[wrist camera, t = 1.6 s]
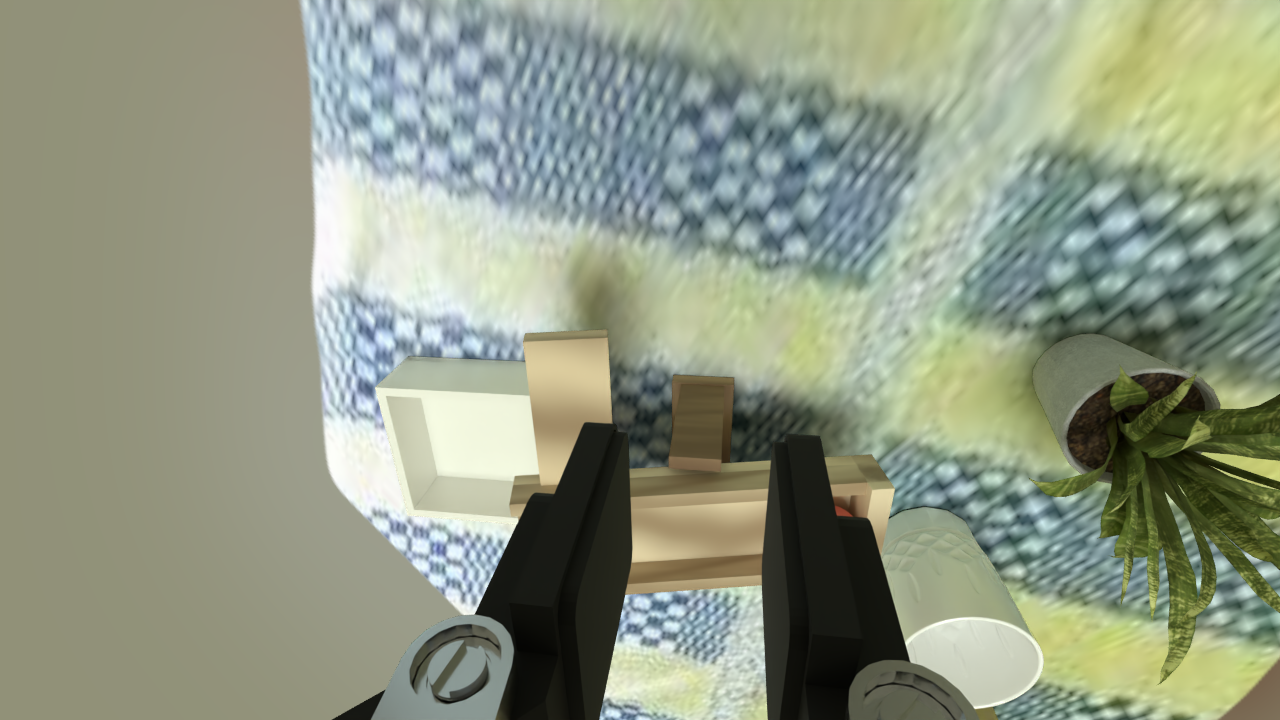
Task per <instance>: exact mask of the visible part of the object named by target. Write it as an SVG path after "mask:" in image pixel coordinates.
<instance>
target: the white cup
mask: <svg viewBox="0 0 1280 720" xmlns="http://www.w3.org/2000/svg"><path fill="white" fill-rule="evenodd" d="M881 559H882V562H883V566H884V570H885V573H886V577H887V580H888V584H889V587H890V591H891V594H892V598H893V602H894V605H895V609H896V612H897V616H898V619H899V623H900V627H901V630H902V634H903V637H904V641H905V644H906V648H907V651H908V655H909V659H910V662H911V663H914V664H918V665H922V666H924V667H926V668H928V669H930V670H932V671H934V672H936V673H937V674H939V675H941V676H943V677H944V678H945V679H947V680H948V681H949V682H950V683H951V684H953V685H954V686H955V687H956V688H958V689H959V690H960V691H961V692H962V694H963V695H964V696H965V697H966V698H967V700H968V701H969V702H970V703H971V705H972V706H973V707H974V709H980V708H987V707H992V706H996V705H1000V704H1003V703H1006V702H1008V701H1011V700H1013V699H1015V698H1017V697H1019V696H1020V695H1022V694H1024V693H1025V692H1026V691H1028V690H1029V689H1030V688H1031V687H1032V686H1033V685H1034V684H1035V683H1036V681H1037V680H1038V679H1039V677H1040V675H1041V673H1042V670H1043V665H1044V658H1043V653H1042V650H1041V648H1040V646H1039V644H1038V643H1037V641H1036V639H1035V637H1034V636H1033V634H1032V632H1031V630H1030V629H1029V627H1028V625H1027V623H1026V621H1025V620H1024V618H1023V616H1022V615H1021V613H1020V611H1019V609H1018V608H1017V606H1016V604H1015V602H1014V601H1013V599H1012V597H1011V595H1010V593H1009V591H1008V589H1007V588H1006V586H1005V584H1004V583H1003V581H1002V580H1001V579H1000V577H999V575H998V573H997V571H996V569H995V568H994V566H993V565H992V563H991V562H990V560H989V558H988V556H987V555H986V554H985V553H984V552H983V551H982V549H981V548H980V546H979V545H978V543H977V542H976V540H975V538H974V536H973V534H972V533H971V531H970V529H969V527H968V525H967V524H966V522H965V521H964V520H962V519H961V518H959V517H957V516H956V515H954V514H952V513H951V512H949V511H947V510H942V509H935V508H929V507H921V508H916V509H910V510H905V511H902V512H900V513H898V514H896V515H895V516H893V517H891V518H890V519H888V524H887V529H886V534H885V539H884V543H883V548H882V553H881Z"/></svg>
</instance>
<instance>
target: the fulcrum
mask: <svg viewBox="0 0 1280 720" xmlns="http://www.w3.org/2000/svg"><path fill="white" fill-rule="evenodd" d="M733 393H734V378H728V377H707V376H685V375H673V380H672V440H671V446H670V452H669V468H671V469H685V470H700V471H714V472H721V463H730V450H731V431H732V412H733Z"/></svg>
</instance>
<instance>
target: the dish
mask: <svg viewBox="0 0 1280 720" xmlns="http://www.w3.org/2000/svg"><path fill="white" fill-rule="evenodd" d="M375 389H376V393H377V397H378V401H379V405H380V409H381V413H382V417H383V421H384V424H385V428H386V432H387V436H388V440H389V444H390V448H391V452H392V456H393V460H394V464H395V468H396V472H397V475H398V479H399V483H400V487H401V491H402V495H403V499H404V503H405V507H406V511H407V515H408V516H420V517H432V518H444V519H455V520H467V521H479V522H491V523H503V524H515V525H517V523H518V516H517V517H511V513H510V507H509V503H510V498H511V493H512V488H513V482H514V477H515V476H520V475H537V474H539V467H538V459H537V451H536V443H535V435H534V427H533V419H532V411H531V403H530V395H529V386H528V378H527V370H526V362H524V361H502V360H480V359H458V358H436V357H414V356H408V357H407V358H406V359H405V360H404V361H403V362H402V363H401V364H400V365H399V366H398V367H397V368H396V369H394V370H393V371H392V372H391V373H390V374H389V375H388V376H387V377H386V378H385V379H384V380H383V381H381V382H380V383H379V384H378V385H377V386H376V387H375Z"/></svg>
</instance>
